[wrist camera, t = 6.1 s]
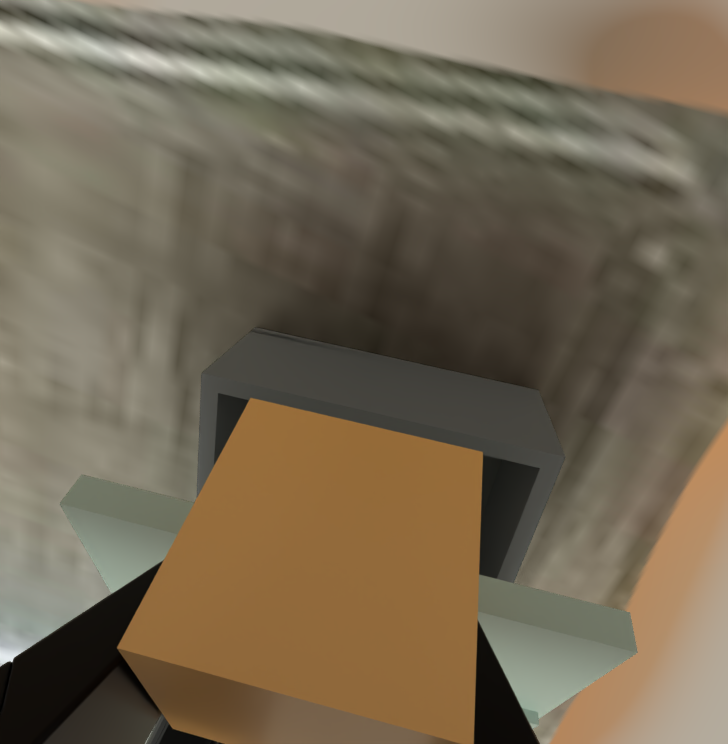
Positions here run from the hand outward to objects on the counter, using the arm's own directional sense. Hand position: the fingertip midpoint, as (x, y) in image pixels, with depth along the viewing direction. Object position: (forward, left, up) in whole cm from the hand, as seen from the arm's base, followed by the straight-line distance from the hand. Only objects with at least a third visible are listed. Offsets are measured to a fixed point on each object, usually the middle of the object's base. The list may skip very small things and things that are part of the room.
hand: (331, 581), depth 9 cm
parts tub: (-8, 0, -12) cm, 15 cm away
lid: (-7, 0, -4) cm, 8 cm away
